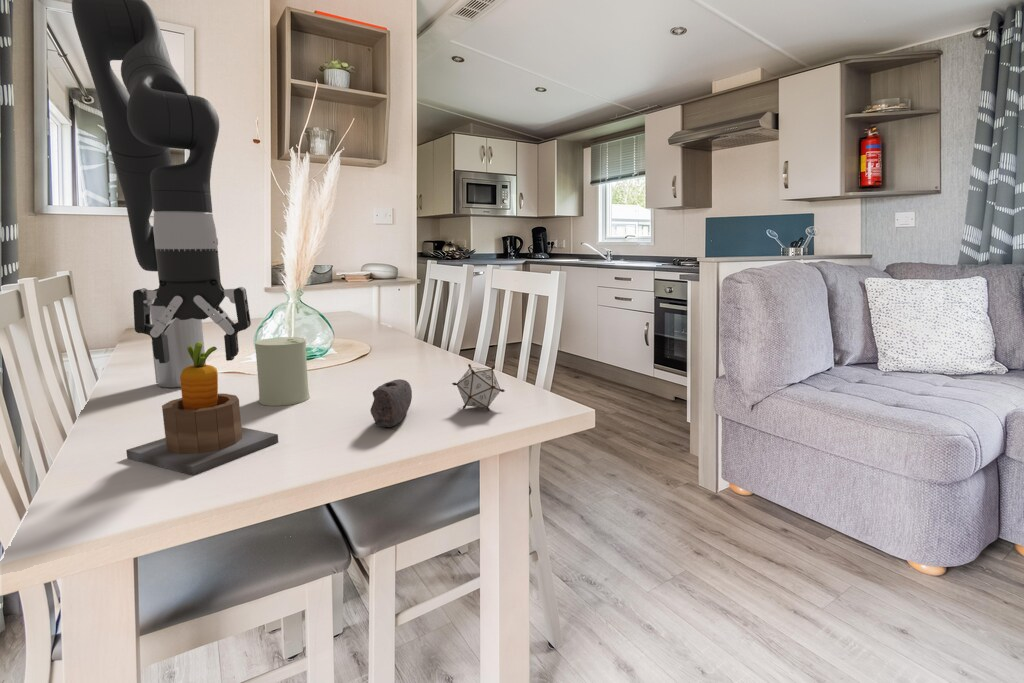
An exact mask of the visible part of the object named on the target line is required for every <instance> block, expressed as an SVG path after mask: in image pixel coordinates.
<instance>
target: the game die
mask: <svg viewBox="0 0 1024 683" xmlns="http://www.w3.org/2000/svg"><path fill="white" fill-rule="evenodd" d="M467 366H468V369H467V371H466V372H465V373H464V374H463V376H462V377H461V378H460V379H459V380H458V381H457V383H456V382H452V383H451V385H453V386H457V389H458V391H459V394H460V396H461V399H462V401H463V403H464V405H463V406H462V410H465V409H466V408H467V407H476V408H485V409H486V411H488V412H491V411H490V410H491V409H490V407H489V406H490V405H491V404H492V403H493V401H494V400H495V399H496V398H497V397H498V395H499V394H500V392H502V393H504V392H506V390H505V389H504V388H501V387H500V384H499V382H498V379H497V377H496V375H495V372H494V370H495V369H496V365H492V367H491V368H485V367H484V368H483V367H472V364H470V363H468V365H467Z"/></svg>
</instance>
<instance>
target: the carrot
mask: <svg viewBox="0 0 1024 683" xmlns="http://www.w3.org/2000/svg"><path fill="white" fill-rule="evenodd" d="M202 345H203V344H202V343H201V342H197V343H196V344H195V348H194V349H193V347H192V345H191V346H189V347H187V349H188V352H189V354H190V356H191V358H192V360H193V362H194V365H192V366H187V367H185V368H184V369H183V370H182V372H181V376H180V380H181V387H180V390H181V398H182V400H183V406H184V410H189V409H202V408H209V407H214V406H217V399H218V394H219V392H218V391H219V390H218V389H219V385H218V384H219V375H218V374H219V373H218V370H217V368H216V367H215V366H214V365H211V364H206V365H205V361H207V359H208V357H209V356H210V355H211V354H212V353H213V352H215V351H217V349H218V348H217V347H216V346H212V347H209V348H208V349H207V350H206V352H205V353H202V354H201V349H202Z"/></svg>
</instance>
